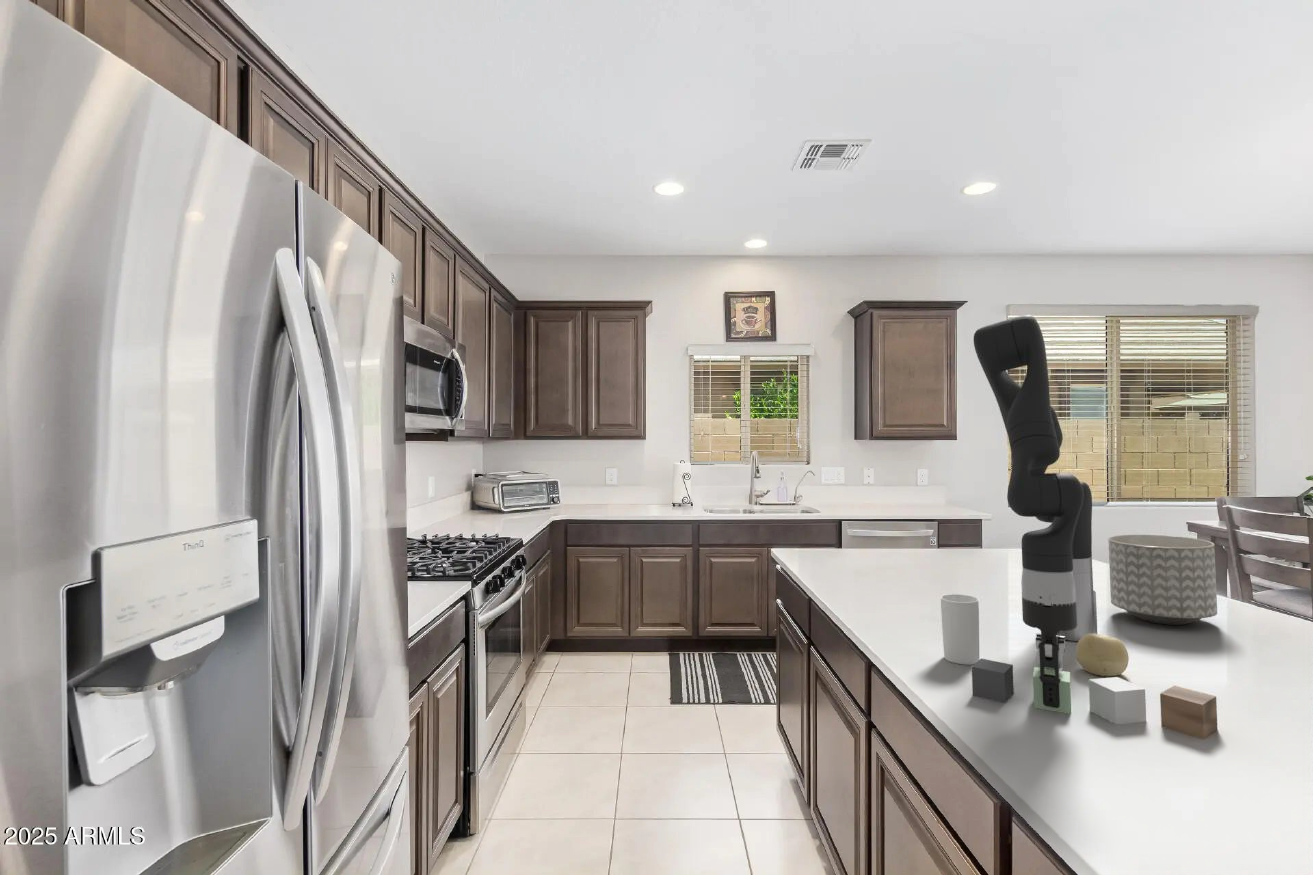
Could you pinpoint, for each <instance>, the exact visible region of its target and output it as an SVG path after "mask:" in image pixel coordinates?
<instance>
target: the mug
mask: <svg viewBox="0 0 1313 875" xmlns="http://www.w3.org/2000/svg"><path fill="white" fill-rule="evenodd" d="M979 606H980V605H979V598H977V597H976V596H972V595H968V594H959V593H958V594H957V593H956V594H955V593H952V594H949V593H947V594H943V595H940V610H941V613H940V614H941V628H942V643H943V644H942V645H943V654H944V655H943V656H944V659H945V660H946V661H948V662H949V663H954V664H957V665H968V666H969V665H974V664H975V663H976V662H978V661H979V660H980V608H979Z"/></svg>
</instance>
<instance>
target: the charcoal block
mask: <svg viewBox="0 0 1313 875" xmlns="http://www.w3.org/2000/svg"><path fill="white" fill-rule="evenodd" d="M971 683H972V684H971V685H972V690H971V691H972V696H973V697H976V698H980V699H986V700H990V701H992V702H993V701H994V702H999V703H1001V704H1003V703H1004V704H1006V703H1007V702H1008V701H1009V699H1011V698H1012V697H1013V695H1014V694H1015V691H1014V690H1015V689H1014V688H1015V686H1014V665H1013V664H1010V663H1005V662H1001V661H997V660H996V661H995V660H991V659H985V658H979V661H978V662H976V663H975V664H972V666H971Z"/></svg>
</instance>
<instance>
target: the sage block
mask: <svg viewBox="0 0 1313 875" xmlns="http://www.w3.org/2000/svg"><path fill="white" fill-rule="evenodd" d="M1032 673H1033V674H1032V691H1033V693H1032V696H1033V708H1036V709H1040V710H1046V711H1052V712H1058V713H1064V714H1069V715H1071V714H1072V690H1071V689H1072V688H1071V687H1072V686H1071V684H1072V683H1071V672H1070V671H1064V670H1061V671H1060V672H1059V678H1060V679H1061V682H1060V685H1059V697H1060V706H1059V708H1053V707H1047V706H1045V705H1044V704H1043V688H1042V682H1041V680H1040V679H1039V676H1040V667H1039V666H1038V667H1036V666H1034V667H1033V672H1032ZM1045 674H1048V675H1055V670H1052V669H1045Z"/></svg>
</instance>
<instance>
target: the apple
mask: <svg viewBox="0 0 1313 875" xmlns="http://www.w3.org/2000/svg"><path fill="white" fill-rule="evenodd" d="M1075 657H1076V661H1077V662H1078V664H1079V666H1080V667H1081V668H1082V669H1083V670H1085V671H1086V672H1088V673H1091V674H1092V675H1096V676H1099V675H1100V676H1099V677H1118V676H1119V675H1121V674H1123V673H1124V672H1125V671H1126V670H1127V668H1128V665H1129V652H1128V649H1127V648H1126V646H1125V644H1124V643H1123V642H1122V640H1120V639H1118V638H1116V637H1112V636H1110V635H1104V634H1098V633H1097V634H1087V635H1085V636H1083V637H1082V638H1081V639H1080V640H1079V641H1077V643H1076V647H1075Z"/></svg>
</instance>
